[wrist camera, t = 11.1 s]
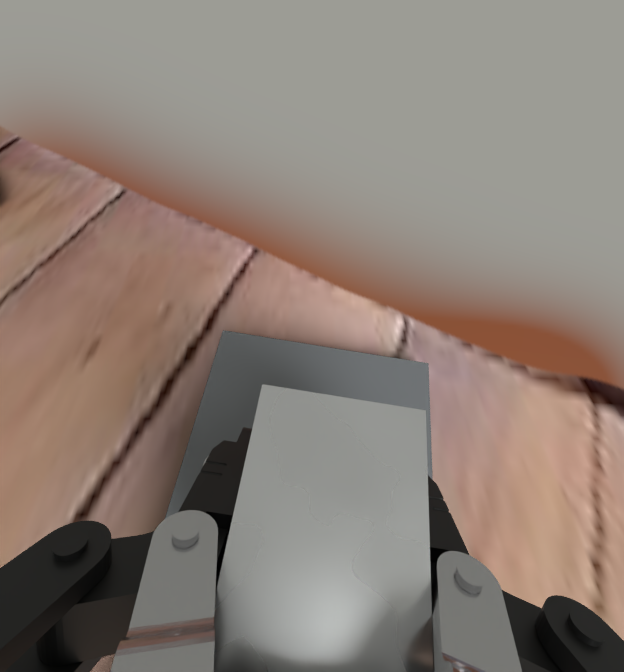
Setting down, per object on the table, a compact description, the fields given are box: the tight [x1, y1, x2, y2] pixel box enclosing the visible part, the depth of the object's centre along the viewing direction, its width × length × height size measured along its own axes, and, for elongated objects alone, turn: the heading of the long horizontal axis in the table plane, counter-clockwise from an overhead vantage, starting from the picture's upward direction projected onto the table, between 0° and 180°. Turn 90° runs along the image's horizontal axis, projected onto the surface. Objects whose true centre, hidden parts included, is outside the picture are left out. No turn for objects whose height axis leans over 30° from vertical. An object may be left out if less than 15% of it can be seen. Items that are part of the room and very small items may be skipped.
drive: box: [214, 384, 434, 672], centre depth 10 cm, size 4×6×8 cm
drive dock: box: [165, 330, 432, 519], centre depth 14 cm, size 12×18×5 cm, turn 172°
